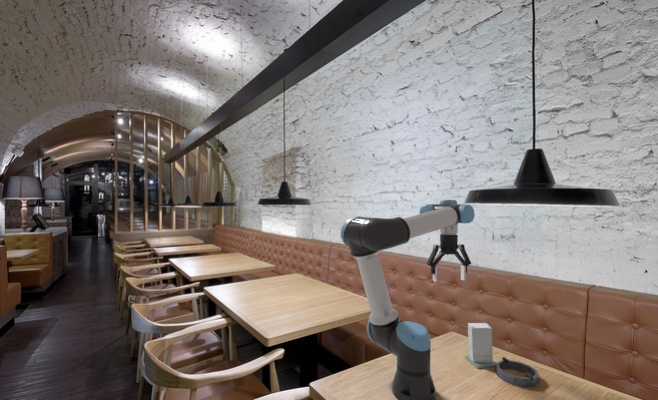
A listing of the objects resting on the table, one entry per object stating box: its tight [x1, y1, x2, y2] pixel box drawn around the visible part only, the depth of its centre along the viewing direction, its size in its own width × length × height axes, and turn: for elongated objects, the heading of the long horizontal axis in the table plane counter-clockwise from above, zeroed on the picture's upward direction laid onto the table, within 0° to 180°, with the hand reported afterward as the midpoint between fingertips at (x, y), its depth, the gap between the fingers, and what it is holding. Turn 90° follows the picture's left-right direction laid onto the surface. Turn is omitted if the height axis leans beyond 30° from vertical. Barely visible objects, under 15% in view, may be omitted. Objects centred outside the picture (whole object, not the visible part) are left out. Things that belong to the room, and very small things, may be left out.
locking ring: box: [495, 356, 540, 388], centre depth 124 cm, size 14×15×4 cm
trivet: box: [464, 354, 497, 369], centre depth 136 cm, size 9×9×1 cm
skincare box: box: [467, 322, 494, 363], centre depth 136 cm, size 8×6×15 cm
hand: (449, 280), depth 144 cm, fingers open, 13 cm apart
